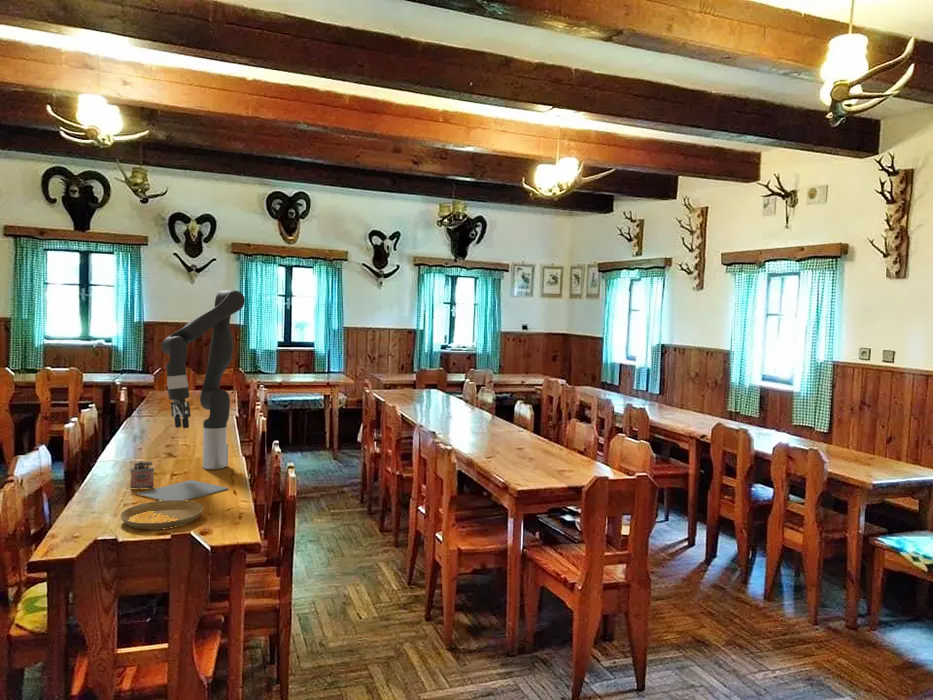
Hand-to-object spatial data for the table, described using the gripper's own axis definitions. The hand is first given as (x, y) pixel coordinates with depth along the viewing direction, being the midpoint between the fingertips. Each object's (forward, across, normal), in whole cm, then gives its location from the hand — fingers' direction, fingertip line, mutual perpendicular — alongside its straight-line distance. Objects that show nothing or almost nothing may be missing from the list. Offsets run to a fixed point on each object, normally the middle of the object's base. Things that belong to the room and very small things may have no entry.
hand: (182, 427), depth 272 cm
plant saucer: (+24, -49, +26) cm, 60 cm away
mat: (+22, -21, +9) cm, 31 cm away
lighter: (+20, -8, +19) cm, 28 cm away
